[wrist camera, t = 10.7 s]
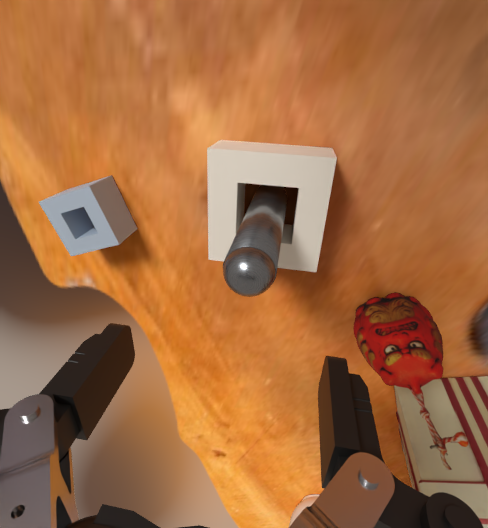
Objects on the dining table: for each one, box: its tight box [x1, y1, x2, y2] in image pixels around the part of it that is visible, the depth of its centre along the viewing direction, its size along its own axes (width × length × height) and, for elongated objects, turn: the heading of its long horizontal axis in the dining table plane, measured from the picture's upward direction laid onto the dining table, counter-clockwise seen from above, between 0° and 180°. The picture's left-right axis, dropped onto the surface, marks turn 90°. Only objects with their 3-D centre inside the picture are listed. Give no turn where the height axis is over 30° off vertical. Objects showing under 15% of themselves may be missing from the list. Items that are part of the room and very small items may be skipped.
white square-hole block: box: [207, 140, 337, 272], centre depth 29 cm, size 10×10×4 cm
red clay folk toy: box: [354, 292, 468, 470], centre depth 29 cm, size 8×7×15 cm
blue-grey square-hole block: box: [39, 175, 137, 256], centre depth 33 cm, size 6×6×4 cm
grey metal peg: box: [223, 185, 287, 297], centre depth 25 cm, size 3×3×16 cm
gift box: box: [394, 376, 488, 528], centre depth 34 cm, size 17×18×17 cm
